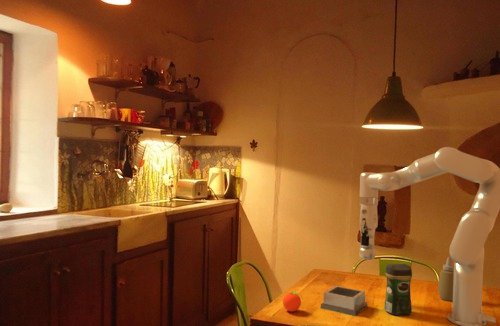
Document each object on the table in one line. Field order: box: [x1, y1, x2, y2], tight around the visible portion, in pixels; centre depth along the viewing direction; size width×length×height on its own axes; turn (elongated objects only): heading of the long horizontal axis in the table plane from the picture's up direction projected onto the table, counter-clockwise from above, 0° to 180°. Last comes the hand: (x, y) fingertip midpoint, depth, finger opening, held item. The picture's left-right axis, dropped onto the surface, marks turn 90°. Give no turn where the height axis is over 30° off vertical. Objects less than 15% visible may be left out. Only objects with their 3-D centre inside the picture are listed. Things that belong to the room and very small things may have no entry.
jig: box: [320, 285, 368, 317], centre depth 167 cm, size 14×14×6 cm
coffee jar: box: [384, 263, 413, 316], centre depth 163 cm, size 10×8×19 cm
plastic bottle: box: [358, 223, 376, 261], centre depth 178 cm, size 6×7×20 cm
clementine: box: [282, 292, 303, 313], centre depth 161 cm, size 8×7×7 cm
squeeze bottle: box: [437, 256, 454, 302], centre depth 182 cm, size 8×8×18 cm
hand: (367, 244), depth 178 cm, fingers closed on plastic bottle, 5 cm apart
